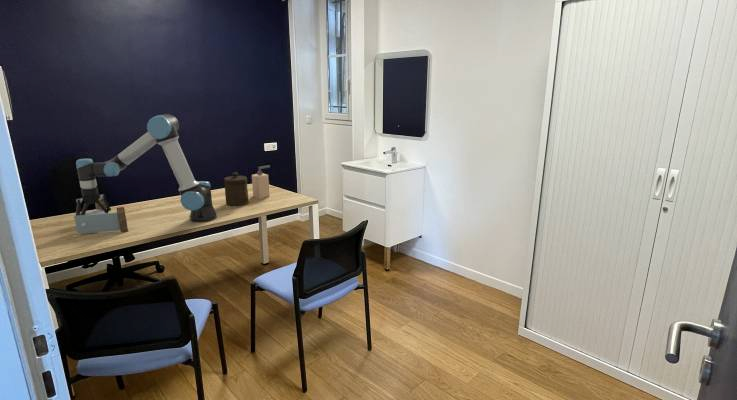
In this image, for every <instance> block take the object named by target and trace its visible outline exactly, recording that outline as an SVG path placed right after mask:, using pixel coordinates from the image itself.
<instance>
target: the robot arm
mask: <svg viewBox="0 0 737 400" xmlns="http://www.w3.org/2000/svg"><path fill="white" fill-rule="evenodd" d="M179 127H180V124H179V121H178V119H177V118H176V117H175V116H174V115H173V114H169V113H164V114H159V115H158V114H157V115H155V116H153V117H151V118H150V119H149V120H148V122H147V125H146V129H147V132H146V133H144V134H143V135H141V136H140V137H139V138H137V140H135V141H134V142H132V143H131V144H129V146H127V147H126V148H125V149H124V150H122V151H121V152H120V153H118V154H117V155H116V156H114V157H113V158H111V159H110V160H106V161H104V162H94V160H93V159H92V158H80V159H77V160H76V162H75V165H76V171H77V175H78V176H77V177H78V180H79V186H80V191H81V198H76V199H75V203H76V208H75V216H76V215H85V213H86V212H87V210H88V207H89V206H90V205H92V204H95V203H97V204H98V205H99V207H100V208H101V209H102V210H104V212H105V213H110V212H111V211H112V208H111V207H110V204H109V202H108V200H107V195H105V194H103V193H102V194H100V193H99V189H98V183H97V179H96V177H117V176H119V174H120V172H121V171H124V170H125V169H126V168H127V166H129V165H130V164H131V163H132V162H134V161H135V160H137V159H138V158H140V157H141V156H142V155H143V154H144V153H146V152H147V151H149V150H150V149H151V148H153V147H154V146H155V145H156V144H158V145H159V146H161V147H162V150H163V152H164V154H165V156H166V158H167V161H168V163H169V166H170V168H171V169H172V171H173V175H174V177H175V178H176V181H177V183H178V185H179V188H178V192H179V194H180V205H181V206H182V207H183V208H184V209H186V210H188V211H190V212H189V220H190V221H191V222H193V223H204V222H210V221H213V220H216V219H217V216H218V215H217V212H216V210H215V208H214V206H213V199H212V190H211V189H212V187H211V183H210V182H209V181H207V180H206V181H205V180H200V181H198V180H196V179H195V177H194V175H193V172H192V170H191V168H190V165H189V164H188V161H187V159H186V156H185V154H184V152H183V149H182V148H181V145H180V143H179V138H180V136H179V134H178V130H179ZM99 198H101V199H102V200H103V202H104V204H105V206H106V209H105V207H104V206H103V205H102V204H101V203H100V202H99V201H98V200H99ZM83 202H84V203H83ZM82 203H83V207H82Z"/></svg>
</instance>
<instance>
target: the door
mask: <svg viewBox="0 0 737 400" xmlns="http://www.w3.org/2000/svg"><path fill="white" fill-rule="evenodd" d="M73 217H74V221H75V222H74V223H75V228H76V231H77V235H82V234H83V235H84V234H93V233H94V234H95V233H105V232H116V231H120V226H119V220H118V214H117V211H116V212H108V213H102V214H89V215H76V214H75V215H74V216H73Z"/></svg>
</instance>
